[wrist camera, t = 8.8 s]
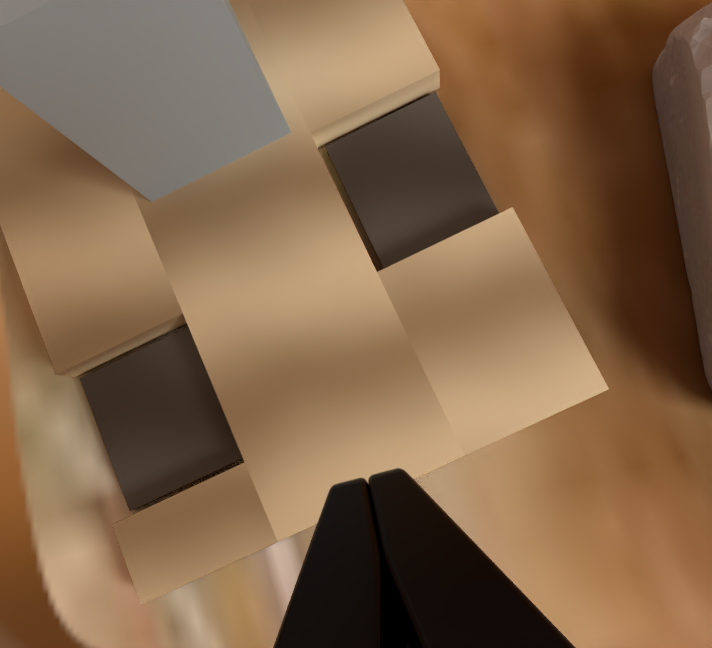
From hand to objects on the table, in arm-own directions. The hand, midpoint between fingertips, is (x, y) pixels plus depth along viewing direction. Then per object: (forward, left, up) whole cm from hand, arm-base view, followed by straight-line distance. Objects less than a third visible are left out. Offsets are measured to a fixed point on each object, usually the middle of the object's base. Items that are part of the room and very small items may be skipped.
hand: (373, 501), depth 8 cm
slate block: (+10, +8, -12) cm, 18 cm away
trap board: (+7, +6, -13) cm, 16 cm away
